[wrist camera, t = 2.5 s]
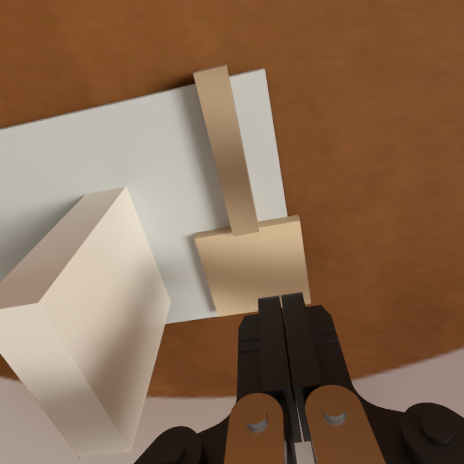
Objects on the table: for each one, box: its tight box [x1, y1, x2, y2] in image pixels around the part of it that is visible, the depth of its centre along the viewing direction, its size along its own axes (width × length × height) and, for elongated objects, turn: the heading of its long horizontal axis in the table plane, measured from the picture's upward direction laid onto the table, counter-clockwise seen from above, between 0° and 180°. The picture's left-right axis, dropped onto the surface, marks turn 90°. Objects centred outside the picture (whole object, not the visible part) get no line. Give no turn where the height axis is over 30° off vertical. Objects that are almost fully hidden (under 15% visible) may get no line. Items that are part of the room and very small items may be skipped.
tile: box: [0, 186, 171, 457], centre depth 14 cm, size 7×2×8 cm, turn 12°
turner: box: [193, 64, 311, 317], centre depth 16 cm, size 12×5×1 cm, turn 12°
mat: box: [0, 68, 287, 324], centre depth 18 cm, size 12×18×1 cm, turn 102°
